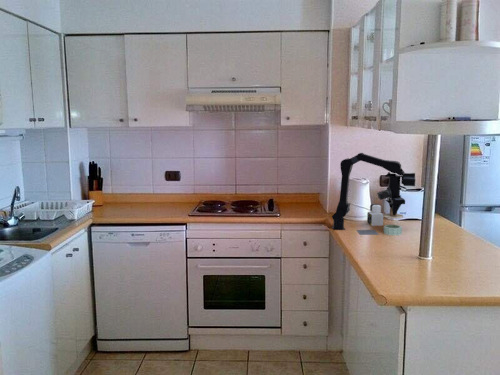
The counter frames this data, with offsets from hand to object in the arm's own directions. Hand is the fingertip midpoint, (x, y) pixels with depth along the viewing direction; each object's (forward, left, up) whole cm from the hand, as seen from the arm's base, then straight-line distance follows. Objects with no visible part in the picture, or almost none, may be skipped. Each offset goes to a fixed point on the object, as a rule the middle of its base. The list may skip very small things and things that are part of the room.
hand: (393, 214), depth 233 cm
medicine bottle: (-21, -4, -11) cm, 24 cm away
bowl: (0, 0, -11) cm, 11 cm away
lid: (0, 0, -1) cm, 1 cm away
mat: (-2, -13, -11) cm, 17 cm away
